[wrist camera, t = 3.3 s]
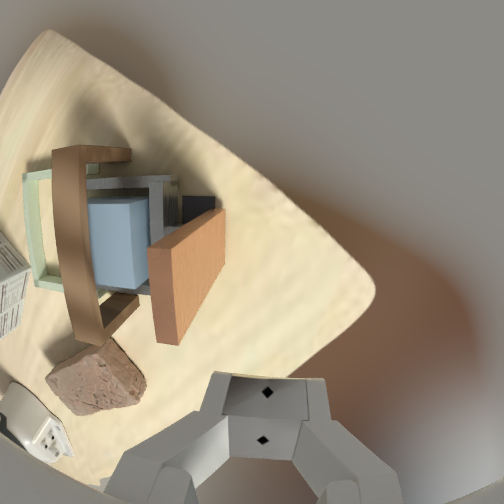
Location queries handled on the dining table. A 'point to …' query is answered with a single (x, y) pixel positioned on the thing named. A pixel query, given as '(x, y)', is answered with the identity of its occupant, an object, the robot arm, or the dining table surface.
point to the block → (119, 239)
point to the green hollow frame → (35, 231)
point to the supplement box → (11, 286)
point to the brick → (97, 380)
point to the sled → (174, 255)
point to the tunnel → (83, 244)
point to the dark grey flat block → (196, 206)
